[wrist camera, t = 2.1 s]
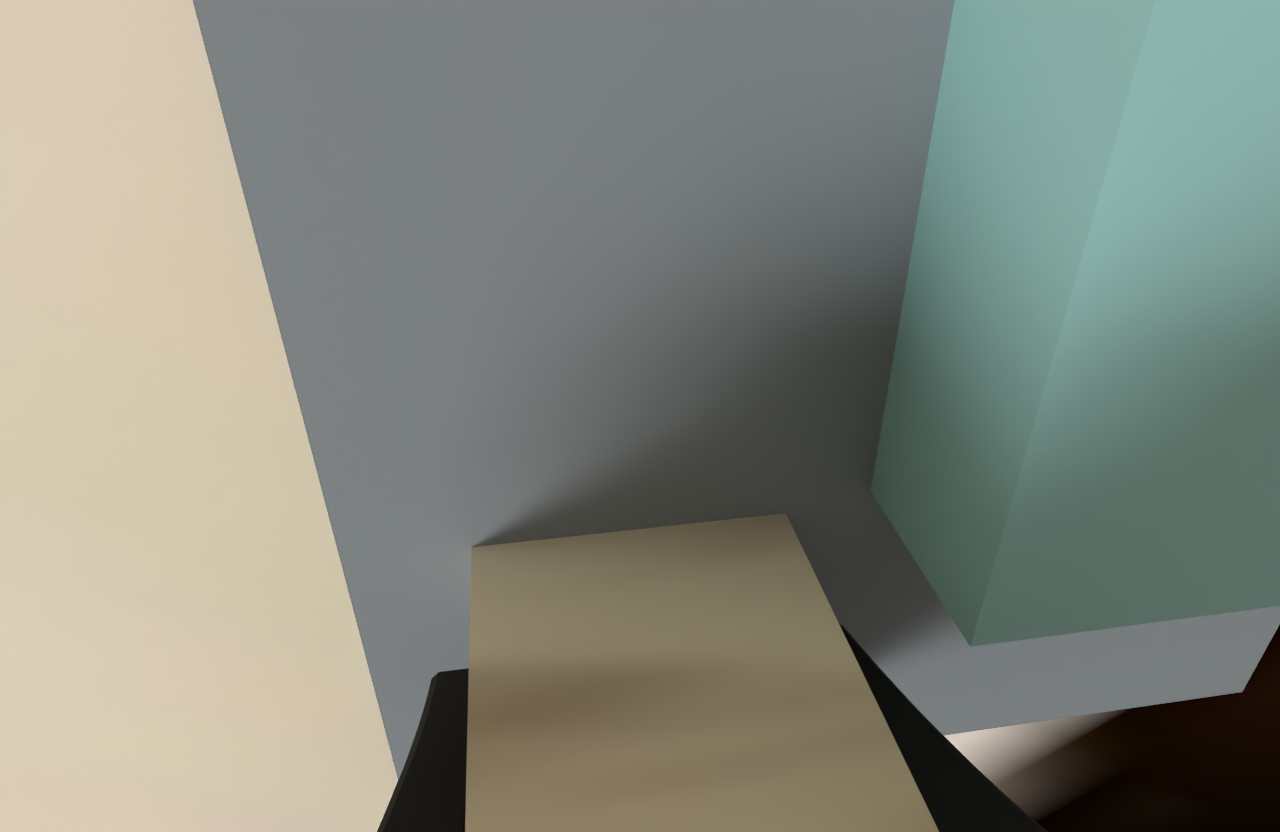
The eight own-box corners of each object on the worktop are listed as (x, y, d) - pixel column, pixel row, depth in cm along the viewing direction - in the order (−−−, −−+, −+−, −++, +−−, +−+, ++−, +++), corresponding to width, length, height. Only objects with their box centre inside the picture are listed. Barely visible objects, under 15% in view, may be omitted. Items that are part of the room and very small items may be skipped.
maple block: (764, 716, 15) (877, 1050, 10) (502, 753, 14) (509, 1121, 10) (785, 513, 12) (942, 839, 8) (471, 546, 12) (463, 917, 7)
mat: (1227, 676, 17) (1241, 691, 16) (408, 792, 15) (407, 812, 14) (1629, -79, 10) (1668, -78, 10) (192, -52, 8) (179, -50, 8)
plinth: (1299, 445, 13) (1492, 577, 11) (870, 491, 12) (970, 646, 10) (1555, -75, 9) (1947, -62, 7) (965, -64, 8) (1168, -45, 6)
